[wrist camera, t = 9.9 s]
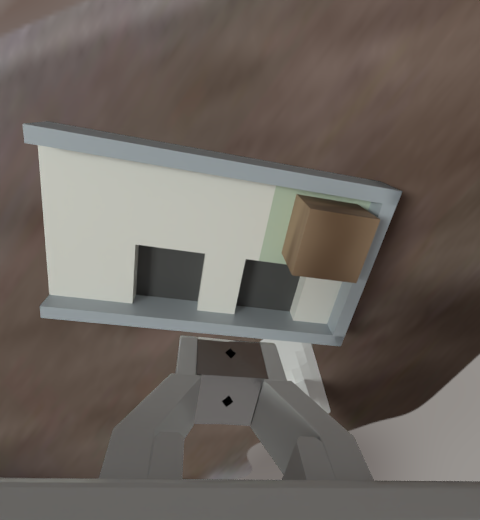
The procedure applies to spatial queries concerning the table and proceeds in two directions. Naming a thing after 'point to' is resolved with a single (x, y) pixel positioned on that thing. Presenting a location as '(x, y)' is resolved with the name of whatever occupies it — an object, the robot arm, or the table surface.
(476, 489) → the robot arm
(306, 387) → the heart sculpture
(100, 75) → the table surface
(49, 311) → the track
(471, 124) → the table surface
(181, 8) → the table surface
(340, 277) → the walnut block
